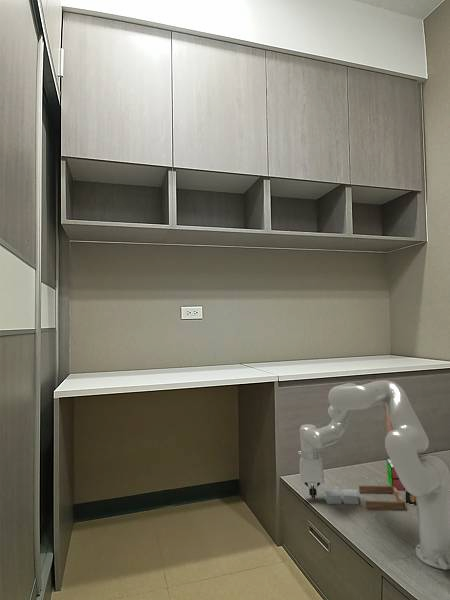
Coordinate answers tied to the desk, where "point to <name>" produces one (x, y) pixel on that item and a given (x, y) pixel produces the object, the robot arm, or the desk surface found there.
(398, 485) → the puzzle cube
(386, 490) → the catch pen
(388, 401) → the robot arm
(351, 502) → the tile
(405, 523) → the desk surface
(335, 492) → the tile trail
